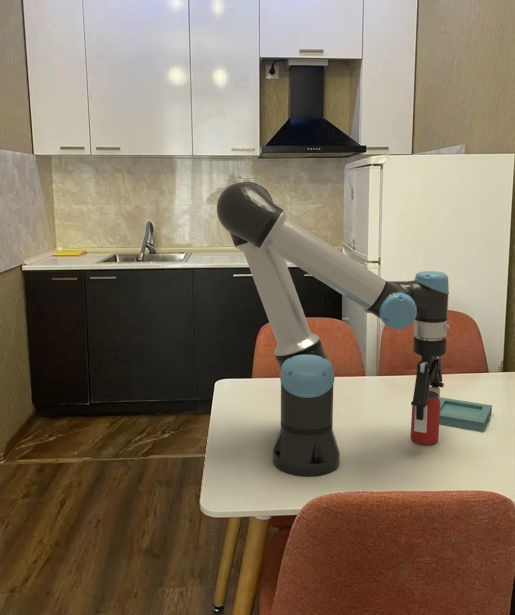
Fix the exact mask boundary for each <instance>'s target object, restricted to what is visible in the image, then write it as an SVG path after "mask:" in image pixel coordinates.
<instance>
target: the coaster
mask: <svg viewBox="0 0 515 615" xmlns="http://www.w3.org/2000/svg"><path fill="white" fill-rule="evenodd" d="M492 409H493V405H491V404H486V403H485V404H484V403H478V402H474V401H466V400H462V399H461V400H460V399H454V398H453V399H452V398H447V397H441V396H440V420H439V426H440V425H441V426H447V427H453V428H457V429H463V430H469V431H473V432H474V431H475V432H480V433H484V432H485V430H486V427H487V425H488V423H489V420H490V418H491V416H492Z"/></svg>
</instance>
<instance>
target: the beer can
mask: <svg viewBox="0 0 515 615" xmlns="http://www.w3.org/2000/svg"><path fill="white" fill-rule="evenodd" d="M418 401H421V400H418ZM411 402H413V400H412V401H411ZM426 405H427V430H426V433H422V432H416V431H414V417H415V406H414V405H411V422H410V439H411V441H413V442H414V443H416V444H417V445H418V444H419V445H424V446H432V445H434V444H437V443H438V442H439V438H440V437H439V434H440V433H439V432H440V424H439V420H440V400H439V395H438V394H437V393H436V392H433V391H429V392H428V397H427V402H426Z"/></svg>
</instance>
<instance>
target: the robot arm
mask: <svg viewBox="0 0 515 615" xmlns="http://www.w3.org/2000/svg"><path fill="white" fill-rule="evenodd" d="M216 214H217V218H218V221H219V222H220V224H221V226H222V227H223V228H224V229H225V230H226V231H228V232H229V235H230V237H231V240H232V242H233V245H234V248H235V249H238V250H240V251H242V252H243V254H244V256H245V259H246V262H247V264H248V267H249V270H250V273H251V276H252V279H253V281H254V284H255V287H256V290H257V292H258V295H259V297H260V300H261V303H262V306H263V308H264V311H265V314H266V317H267V319H268V322H269V324H270V328H271V330H272V333H273V335H274V339H275V341H276V344H277V345H276V347H275V349H274V352H273V354H274V357H275V359H276V362H277V365H278V368H279V370H280V373H279V379H280V429H279V432H278V435H277V437H276V441H275V444H274V446H273V449H272V462H273V465H274V466H275V467H276V468H277V469H279V470H281V471H282V472H285V473H288V474H291V475H296V476H302V477H303V476H304V477H306V476H307V477H311V476H312V477H313V476H321V475H325V474H326V475H327V474H328V473H331V472H333V471H335V470H336V469H337V468H338V467H339V465H340V459H341V458H340V456H341V455H340V454H341V453H340V450H339V446H338V443H337V440H336V436H335V433H334V430H333V429H334V428H333V424H334V423H333V422H334V421H333V420H334V419H333V418H334V384H335V372H334V367H333V364H332V363H331V361H330V358H329V357H328V356H327V354H326V351H325V350H324V347H323V344H322V342H321V339H320V336H319V335H317V334H315V333H312V332H311V329H310V326H309V323H308V321H307V318H306V315H305V312H304V309H303V307H302V304H301V301H300V298H299V295H298V292H297V290H296V286H295V284H294V281H293V278H292V274H291V273H290V270H289V268H288V265H287V262H286V261H288V262H290V263H291V264H293V265H294V266H296V267H298V268H299V269H301V270H302V271H304V272H306V273H307V274H309V275H310V276H312V277H313V278H314V279H317V280H318V281H320V282H322V283H323V284H325V285H327V286H328V287H329V288H331V289H333V290H334V291H336V292H338V293H339V294H341V295H342V296H344V297H346V298H348V299H349V300H350V301H352V302H354V303H355V304H357V305H358V306H360V307H361V308H363V311H364V313H365V312H366V313H367V314H373V315H374V316H375V317H376V318H378V319H380V320H381V321H382V322H383V324H384V325H386V326H387V327H389V328H391V329H393V330H404V329H406V328H408V327H409V326H411V325H412V324H413V335H414V338H413V349H412V350H413V351H412V352H414V354H416V355H419V356H421V360H419V361H418V362H417V364H416V376H415V383H414V389H413V396H412V401H413V402H412V401H410V405H411V406H412V405H414V406H415V417H414V431H416V432H422V433H426V430H427V405H426V402H427V397H428V392H429V391H433V392H436V393H437V394H438V395H439V400H440V397H441V388H444V387H445V386H444V385H445V384H444V382H443V373H442V362H441V356H444V355H445V354H446V353H447V339H446V337H447V335H448V334H447V332H448V329H449V330H450V327H451V326H450V324H447V323H448V311H449V310H448V309H449V308H448V307H449V294H450V292H449V290H450V289H449V288H450V286H449V277H448V275H447V274H446V273H445V272H444V271H443V272H442V271H433V270H431V271H430V270H428V271H427V270H426V271H418V272H417V273H416V274H415V278H414V280H408V281H407V280H406V281H401V280H397V281H395V280H393V281H392V280H390V281H389V280H386V279H384V278H382V277H380V276H379V275H378V274H376V273H375V272H373V271H371V270H369V269H368V268H367V267H365V266H364V265H362V264H361V263H359V262H358V261H356V260H355V259H353V258H351V257H349V256H348V255H346V254H344V253H343V252H341V251H340V250H338V249H337V248H335V247H333V246H332V245H331V244H329V243H327V242H325V241H324V240H322V239H321V238H319V237H318V236H316V235H315V234H313V233H311V232H310V231H309V230H308V229H306V228H304V227H302V225H299V224H297V223H296V222H294V221H293V220H291V219H290V218H288V217H287V213H286V210H285V209H283V208H281V207H280V206H279V205H277V204H275V203H274V201H273V197H272V195H271V194H270V193H269V191H268V190H267V189H266V188H265V187H264V186H263V185H261V184H259V183H257V182H253V181H239V182H235V183H232V184H231V185H229V186H227V187H226V188H225V189H224V190H223V191H222V192H221V194H220V195H219V196H218V199H217V204H216ZM418 400H421V401H418Z"/></svg>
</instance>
